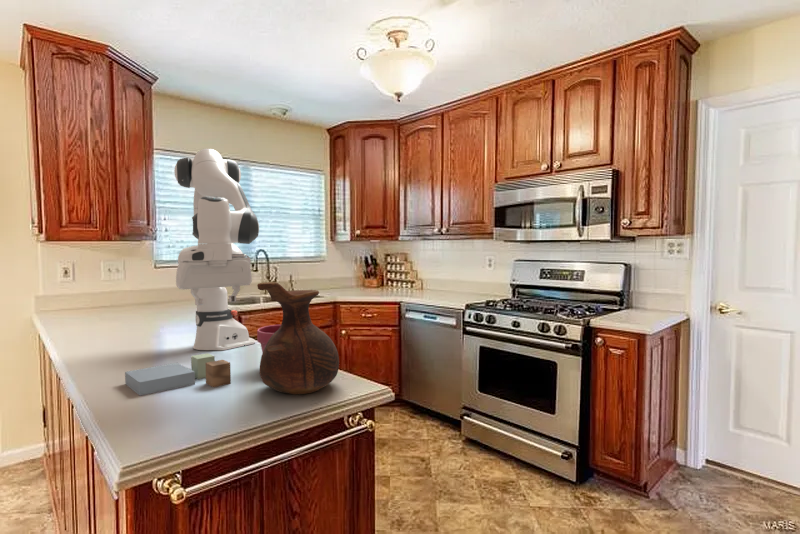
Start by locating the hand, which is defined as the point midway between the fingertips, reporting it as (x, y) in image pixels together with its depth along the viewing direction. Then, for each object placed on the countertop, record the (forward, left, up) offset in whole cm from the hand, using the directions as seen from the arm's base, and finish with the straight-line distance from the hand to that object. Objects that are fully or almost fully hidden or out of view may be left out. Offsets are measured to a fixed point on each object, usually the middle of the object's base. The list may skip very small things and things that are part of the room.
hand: (216, 303), depth 129 cm
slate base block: (+12, -11, -23) cm, 28 cm away
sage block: (0, -11, -23) cm, 25 cm away
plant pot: (-21, -2, -23) cm, 31 cm away
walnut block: (0, 0, -23) cm, 23 cm away
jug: (-14, +20, -23) cm, 34 cm away
